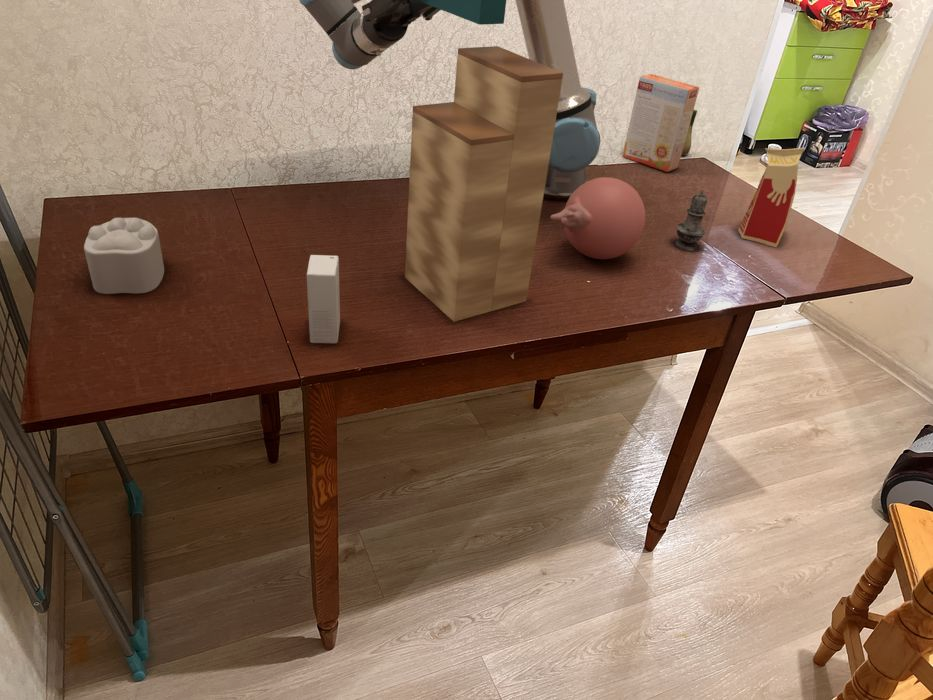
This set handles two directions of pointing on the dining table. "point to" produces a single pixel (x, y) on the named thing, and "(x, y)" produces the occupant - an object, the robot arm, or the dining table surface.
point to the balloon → (603, 218)
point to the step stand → (480, 182)
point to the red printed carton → (772, 198)
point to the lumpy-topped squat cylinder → (124, 256)
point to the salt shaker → (692, 224)
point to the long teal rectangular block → (473, 9)
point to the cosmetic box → (323, 298)
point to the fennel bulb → (689, 135)
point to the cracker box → (660, 122)
